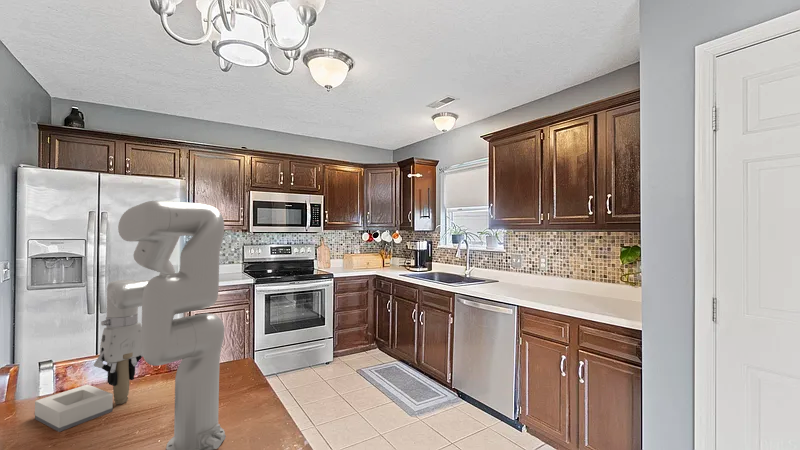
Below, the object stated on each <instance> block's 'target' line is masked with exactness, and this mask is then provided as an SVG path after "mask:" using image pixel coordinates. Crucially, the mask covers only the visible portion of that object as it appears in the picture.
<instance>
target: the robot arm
mask: <svg viewBox="0 0 800 450" xmlns="http://www.w3.org/2000/svg"><path fill="white" fill-rule="evenodd" d="M117 227H118V229H117V230H118V233H119V236H120V238H121V239H123V240H124V241H126V242H129V243H130V242H131V243H133V242H137V245H136V247H135V250H134V252H133V255H132V256H133V260H134V261H135V262H136V263H137V264H138V265H139V266H141V267H142V268H145V269H147V270H151V271H153V272H157V273H159V275H155V276H154V277H152V278H150V279H145V280H134V279H119V280H118V279H117V280H113V281H110V282H108V284H107V287H106V317H105V320H102V321H101V323H100V325H101V326H102V327H103V326H105V327H104V328H103V331H102V335H101V338H100V339H101V340H100V344H99V345H100V347H99V356H98V357H97V359H96V361H94V363H93V367H96V368H99V369H102V370H104V371H105V372H107V384H108V386H109V385H110V386H112V387H113V386H116V385H117V372H115V369H116V364H117V362H120V361H123V360H127V359H123V355H125V354H128V353H132V352H133V356H132V357H130V358H128V359H129V362H128V363H129V380H130V381H133V380H135V376H136V366H137V365H138V362H139V361H140V360H141V359H142V357H143V359H144V361H145V362H146V364H148V365H150V366H155V367H156V366H159V367H160V366H163V365H166V364H167V365H168V364H170V363H174V362H178V361H180V363H179V364H178V367H177V370H176V371H175V372H176V373H175V379H174V380H175V381H174V419H173V421H174V427H173V429H174V430H173V432H174V433H173V437H172V438H170V439H169V440H168V442H167V444H166V446H165V450H217V449H219V447H221V444H222V443H223V441H225V440H226V437H227V436H226V434H225V433H226V432H225V429H224V428H222V426H221V424H220V423H219V408H220V407H219V399H220V397H219V396H220V395H219V394H220V362H221V361H220V359H221V353H222V347H223V343H224V338H225V324H224V322H223V319H222V318H220V317H219V316H218V315H216V314H213V313H198V314H193V315H188V316H182V317H180V318H174V317H175V315H178V314H185V313H189V312H190V313H191V312H195V311H199V310H200V311H201V310H204V309H208V308H210V307H212V306H214V305H215V304H216V302H217V301H218V297H219V286H220V285H219V283H220V254H221V253H220V252H221V247H222V243H223V239H224V234H225V220H224V217H223V215H222V213H221V211H220V210H219V209H218V208H216V207H215V206H212V205H210V204H205V203H197V202H187V201H186V202H185V201H167V200H148V201H145V202H142V203H140V204H138V205H134V206H132V207H129V208H128V209H127V210H126V211H124V212H123V214H121V216H120V219H119V221H118V225H117ZM181 236H182V237H184V236H187V237H188V236H190V237H191V236H192V237H191V238H190V239H188V241H187V242H186V243H185V245H184V246H183V248H182V250H181V253H180V256H179V260H180V265H179V271H178V272H176V270H175V267H174V265H173V264H172V262H171V261H170V259H171V256H172V255H173V252H174V250H175V248H176V245H178V241H179V239H180V237H181ZM139 307H141V322H138V319H139V317H138V315H139V314H138V313H139V312H138V311H139V310H138V309H139ZM104 362H105V363H106V364H105V363H104Z"/></svg>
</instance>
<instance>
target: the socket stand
mask: <svg viewBox="0 0 800 450" xmlns="http://www.w3.org/2000/svg"><path fill="white" fill-rule="evenodd" d="M113 399H114V394H113V393H111V392H108V391H106V390H104V389H100V388H98V387H96V386H93V385H91V384H88V383H87V384H85V385H81V386H78V387H75V388H71V389H69V390H65V391H63V392H59V393H56V394H52V395H49V396H46V397H43V398H39V399H37V400H34V420H35V421H38V422H40V423H41V424H44V425H45V426H46V427H47V426H48V427H49V428H51V429H52V430H54V431H56V432H58V433H60V432H62V431H65V430H68V429H70V428H73V427H76V426H78V425H80V424H83V423H86V422H89V421H91V420H93V419H96V418H99V417H102V416H105V415H106V414H109V413H112V412H113V405H114V403H113V402H114V401H113Z"/></svg>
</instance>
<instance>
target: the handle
mask: <svg viewBox="0 0 800 450" xmlns="http://www.w3.org/2000/svg"><path fill="white" fill-rule="evenodd" d="M132 356H133V352H132V353H128V354H125V355H123V359H127V360H123V361H120V362H117V364H116V369H115V372H117V385H116V386H112V392H113V393H112V394H113V399H114V403H115V405H122V404H125V403H127V402H128V401H129V397H128V396H129V394H130V381H131V380H129V363H128V362H129V359H128V358H130V357H132Z"/></svg>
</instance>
